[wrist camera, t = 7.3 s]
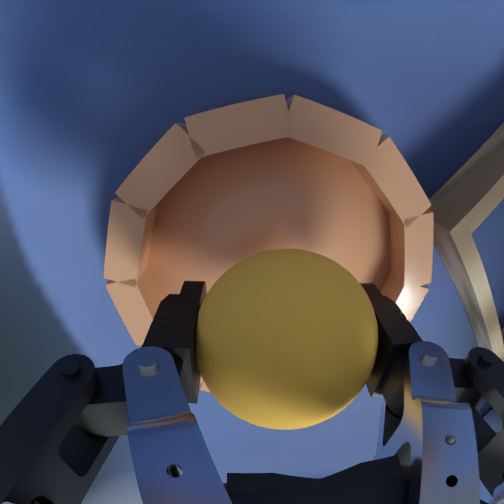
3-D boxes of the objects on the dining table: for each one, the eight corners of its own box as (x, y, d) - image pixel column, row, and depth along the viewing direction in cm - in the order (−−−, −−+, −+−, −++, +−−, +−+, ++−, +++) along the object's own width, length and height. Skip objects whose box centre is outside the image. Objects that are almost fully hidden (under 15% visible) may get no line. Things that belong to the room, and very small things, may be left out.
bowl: (444, 262, 14) (468, 284, 12) (261, 397, 18) (263, 427, 16) (282, 42, 10) (291, 23, 8) (79, 255, 14) (56, 277, 11)
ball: (372, 292, 11) (434, 392, 6) (270, 365, 13) (281, 473, 8) (285, 190, 10) (329, 263, 5) (175, 290, 11) (135, 404, 6)
